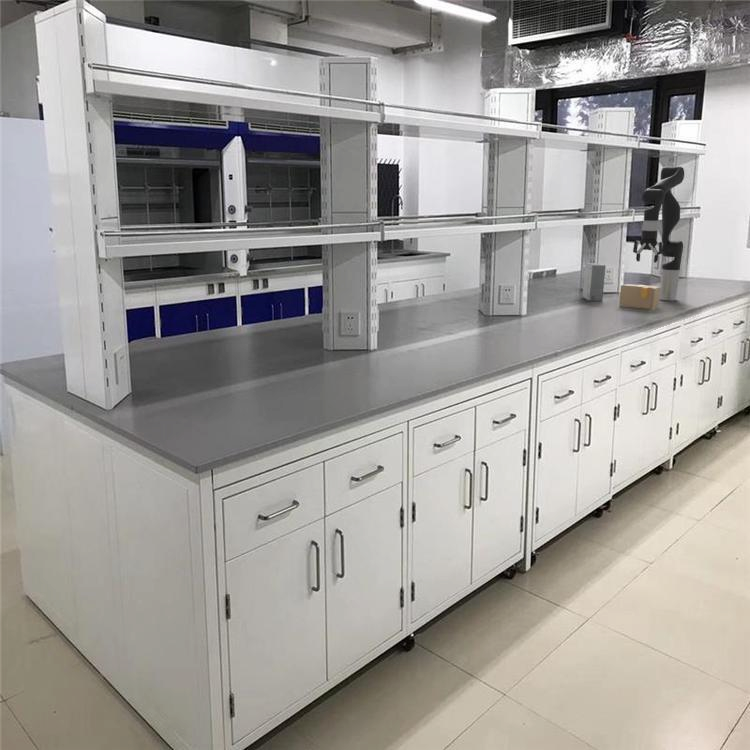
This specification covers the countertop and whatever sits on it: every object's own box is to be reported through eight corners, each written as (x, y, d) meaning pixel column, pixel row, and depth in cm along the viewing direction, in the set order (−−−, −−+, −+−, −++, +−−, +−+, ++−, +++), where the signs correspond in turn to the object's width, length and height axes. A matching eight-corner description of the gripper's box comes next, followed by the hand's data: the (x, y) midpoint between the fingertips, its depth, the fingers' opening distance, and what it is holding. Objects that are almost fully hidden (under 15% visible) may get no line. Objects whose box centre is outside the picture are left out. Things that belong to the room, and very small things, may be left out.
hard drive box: (602, 301, 400) (605, 265, 395) (589, 301, 400) (592, 265, 395) (595, 297, 415) (598, 262, 410) (581, 297, 415) (584, 262, 410)
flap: (620, 305, 383) (622, 284, 380) (650, 308, 373) (652, 287, 371) (616, 306, 379) (618, 285, 376) (647, 309, 370) (649, 288, 367)
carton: (625, 304, 391) (627, 283, 388) (658, 307, 380) (660, 286, 377) (619, 306, 384) (620, 285, 381) (653, 309, 373) (655, 288, 370)
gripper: (666, 230, 361) (663, 262, 365) (638, 228, 370) (635, 260, 374) (661, 230, 355) (658, 263, 360) (633, 229, 364) (630, 261, 368)
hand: (646, 261), depth 367 cm, fingers open, 8 cm apart
